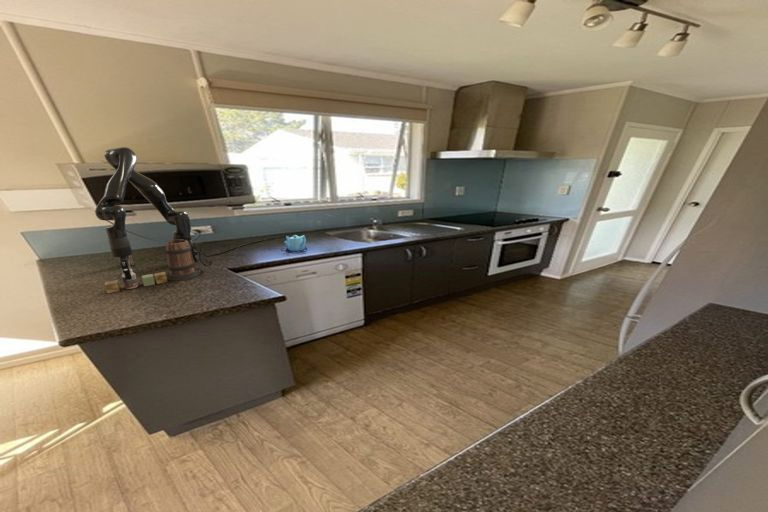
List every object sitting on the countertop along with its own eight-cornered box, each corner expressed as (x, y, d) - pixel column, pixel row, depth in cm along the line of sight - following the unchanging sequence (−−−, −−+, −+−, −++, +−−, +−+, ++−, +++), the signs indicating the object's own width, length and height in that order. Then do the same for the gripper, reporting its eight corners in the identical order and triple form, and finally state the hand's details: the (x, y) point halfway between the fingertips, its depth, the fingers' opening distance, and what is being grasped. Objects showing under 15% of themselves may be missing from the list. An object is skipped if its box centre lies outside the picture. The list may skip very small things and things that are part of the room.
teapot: (306, 251, 211) (305, 237, 208) (285, 252, 208) (283, 238, 204) (306, 245, 225) (306, 232, 222) (287, 246, 222) (285, 233, 219)
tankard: (167, 282, 154) (159, 247, 148) (164, 273, 166) (156, 240, 160) (216, 272, 169) (210, 240, 163) (209, 265, 181) (204, 234, 174)
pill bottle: (124, 287, 148) (118, 269, 145) (137, 284, 152) (132, 267, 149) (126, 290, 144) (121, 272, 141) (139, 287, 148) (134, 269, 145)
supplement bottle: (126, 267, 174) (121, 250, 170) (118, 266, 175) (113, 249, 171) (136, 264, 180) (131, 247, 176) (128, 263, 181) (124, 246, 177)
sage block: (154, 281, 155) (152, 273, 154) (155, 284, 152) (153, 276, 151) (144, 283, 153) (141, 275, 151) (144, 286, 149) (141, 278, 148)
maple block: (166, 279, 159) (165, 271, 157) (167, 281, 155) (165, 274, 154) (156, 281, 156) (154, 273, 154) (156, 284, 152) (154, 276, 151)
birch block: (120, 288, 147) (117, 279, 145) (119, 291, 144) (117, 282, 142) (108, 290, 144) (105, 282, 143) (107, 293, 141) (104, 285, 139)
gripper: (129, 248, 138) (138, 280, 143) (130, 241, 149) (139, 271, 154) (108, 250, 134) (118, 283, 139) (111, 243, 144) (120, 274, 149)
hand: (129, 277), depth 146 cm, fingers closed on pill bottle, 5 cm apart
